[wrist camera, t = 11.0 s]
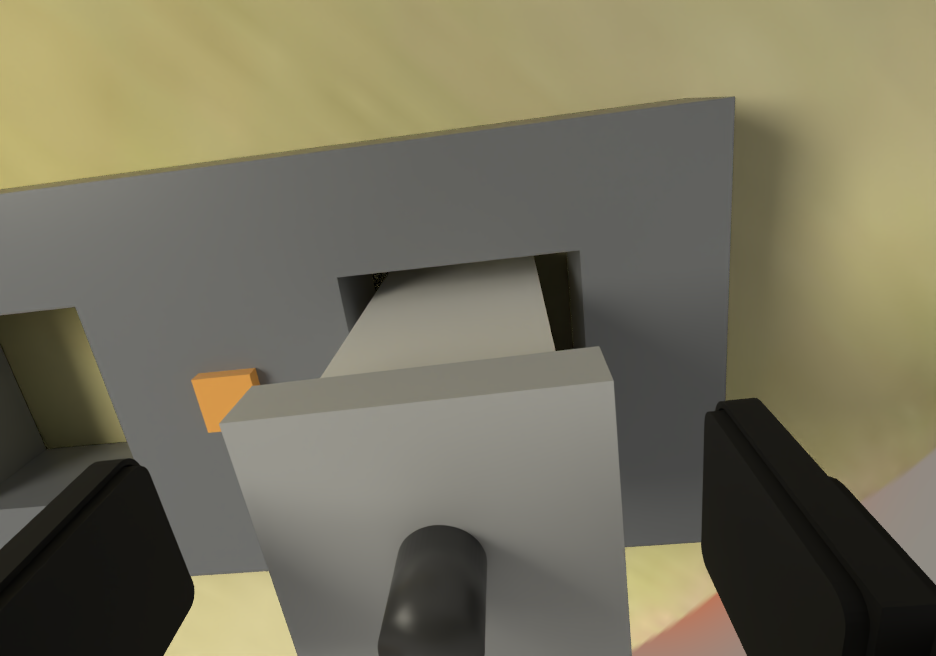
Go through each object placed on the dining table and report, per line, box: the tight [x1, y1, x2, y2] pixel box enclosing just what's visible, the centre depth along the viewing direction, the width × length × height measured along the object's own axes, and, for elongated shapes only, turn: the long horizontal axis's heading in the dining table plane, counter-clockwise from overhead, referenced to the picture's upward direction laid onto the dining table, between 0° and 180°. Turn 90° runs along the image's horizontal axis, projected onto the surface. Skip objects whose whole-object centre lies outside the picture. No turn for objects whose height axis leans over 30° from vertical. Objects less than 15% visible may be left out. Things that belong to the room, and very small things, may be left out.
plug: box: [219, 256, 632, 656], centre depth 13 cm, size 6×6×12 cm
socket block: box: [0, 97, 735, 576], centre depth 17 cm, size 12×26×4 cm, turn 97°
